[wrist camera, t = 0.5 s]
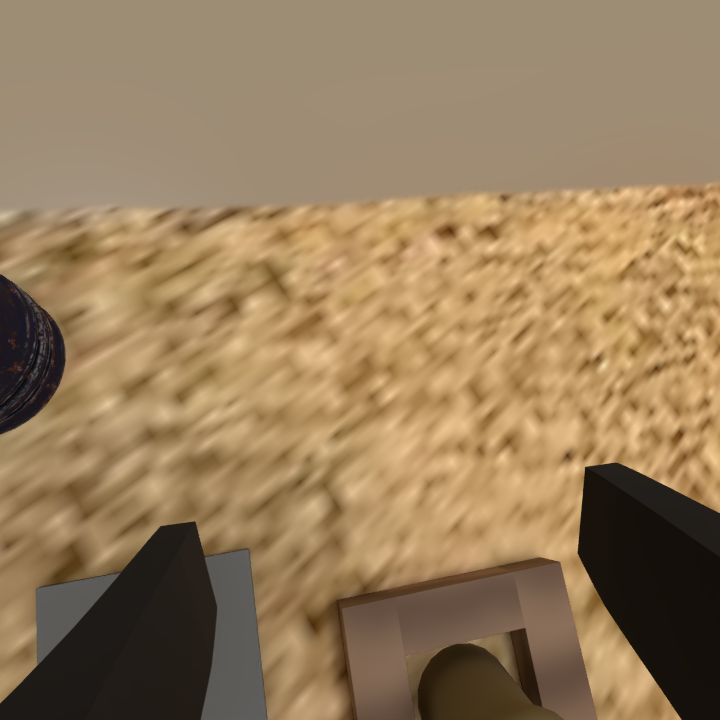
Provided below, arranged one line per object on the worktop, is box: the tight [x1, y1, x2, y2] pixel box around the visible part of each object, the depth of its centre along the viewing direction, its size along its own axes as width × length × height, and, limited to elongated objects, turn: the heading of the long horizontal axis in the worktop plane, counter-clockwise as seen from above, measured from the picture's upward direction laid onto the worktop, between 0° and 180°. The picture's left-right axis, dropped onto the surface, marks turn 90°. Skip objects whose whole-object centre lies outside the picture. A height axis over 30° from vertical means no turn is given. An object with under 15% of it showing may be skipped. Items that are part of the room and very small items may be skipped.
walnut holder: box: [337, 558, 597, 720], centre depth 31 cm, size 14×14×2 cm
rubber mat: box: [36, 549, 267, 720], centre depth 30 cm, size 12×12×1 cm
